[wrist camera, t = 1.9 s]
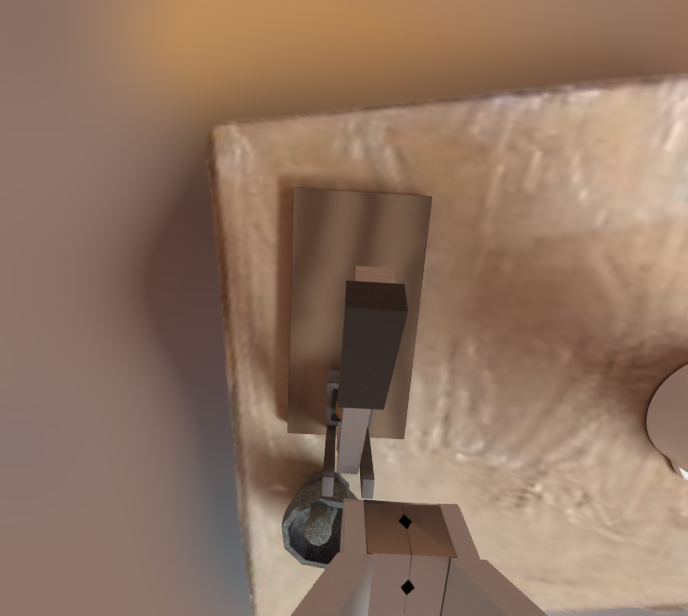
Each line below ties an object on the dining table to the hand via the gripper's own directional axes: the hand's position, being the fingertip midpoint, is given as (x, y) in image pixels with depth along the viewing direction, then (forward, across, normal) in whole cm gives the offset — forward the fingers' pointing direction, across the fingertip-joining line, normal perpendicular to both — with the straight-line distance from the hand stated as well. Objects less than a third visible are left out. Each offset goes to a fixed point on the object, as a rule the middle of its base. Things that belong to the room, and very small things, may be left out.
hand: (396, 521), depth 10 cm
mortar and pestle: (+33, +2, +27) cm, 43 cm away
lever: (+19, 0, +5) cm, 19 cm away
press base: (+33, 0, +4) cm, 33 cm away
